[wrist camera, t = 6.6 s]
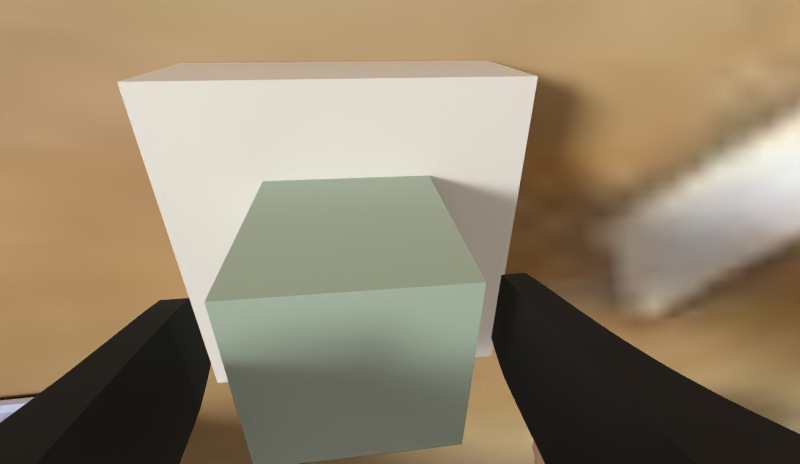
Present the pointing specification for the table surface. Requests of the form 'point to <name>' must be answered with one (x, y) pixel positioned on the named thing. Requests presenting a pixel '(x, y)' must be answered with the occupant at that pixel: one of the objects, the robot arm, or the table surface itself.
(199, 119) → the painted block
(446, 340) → the green cube
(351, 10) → the table surface
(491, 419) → the table surface
